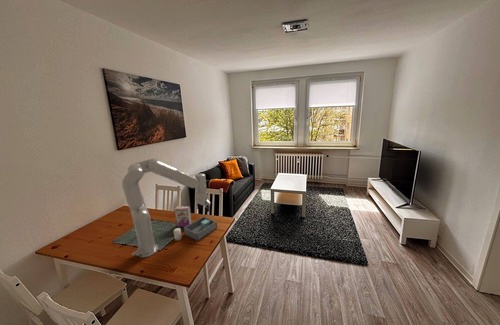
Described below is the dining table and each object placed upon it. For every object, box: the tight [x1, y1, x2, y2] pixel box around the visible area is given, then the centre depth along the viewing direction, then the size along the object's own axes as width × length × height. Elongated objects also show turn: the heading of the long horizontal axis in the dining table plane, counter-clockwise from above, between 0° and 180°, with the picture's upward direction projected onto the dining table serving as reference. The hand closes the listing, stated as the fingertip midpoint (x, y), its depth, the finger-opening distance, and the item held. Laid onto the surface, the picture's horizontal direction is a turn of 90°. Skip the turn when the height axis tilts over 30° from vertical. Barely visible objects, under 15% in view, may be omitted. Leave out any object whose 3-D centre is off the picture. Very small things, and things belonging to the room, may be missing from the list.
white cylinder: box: [173, 227, 183, 241], centre depth 146 cm, size 5×5×7 cm
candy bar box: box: [173, 205, 193, 228], centre depth 161 cm, size 11×5×16 cm, turn 84°
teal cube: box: [201, 219, 210, 229], centre depth 157 cm, size 5×5×5 cm
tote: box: [183, 216, 218, 242], centre depth 154 cm, size 20×16×6 cm
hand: (203, 210), depth 154 cm, fingers open, 9 cm apart
